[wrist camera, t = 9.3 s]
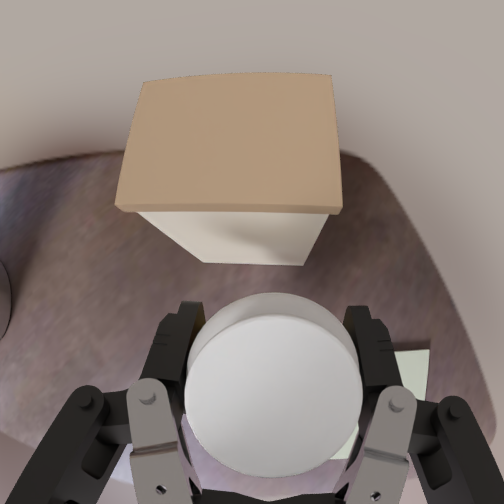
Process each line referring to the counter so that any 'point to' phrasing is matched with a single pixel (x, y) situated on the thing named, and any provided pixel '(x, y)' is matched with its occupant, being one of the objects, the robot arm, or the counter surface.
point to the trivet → (413, 379)
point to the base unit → (235, 164)
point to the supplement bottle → (273, 385)
